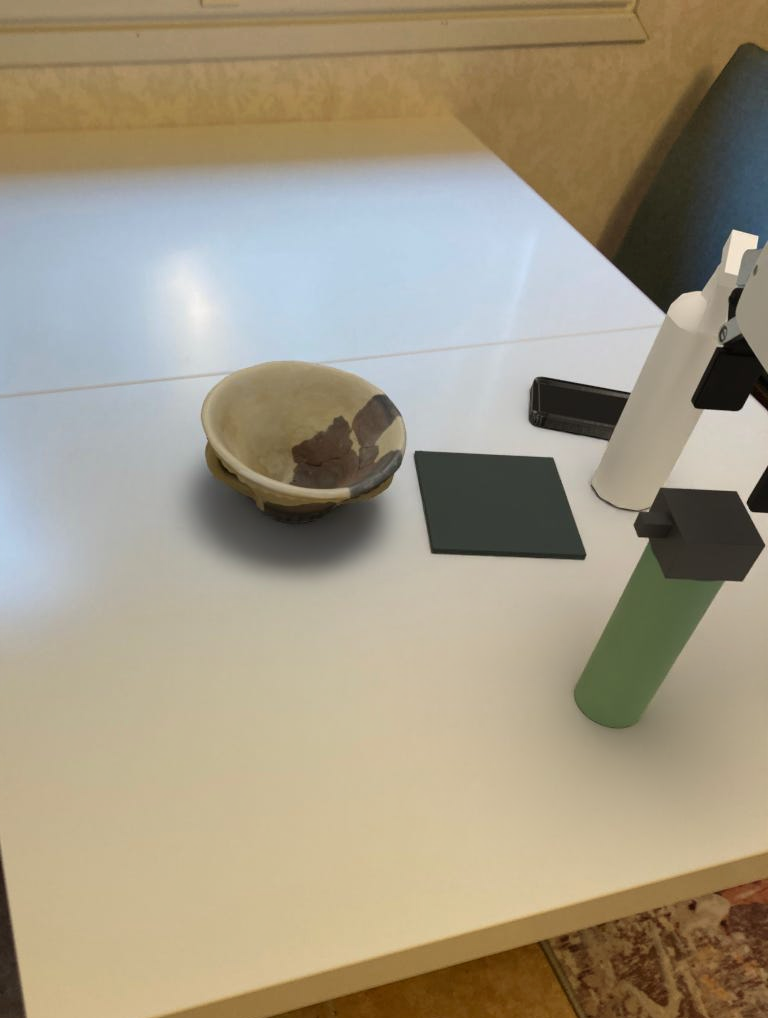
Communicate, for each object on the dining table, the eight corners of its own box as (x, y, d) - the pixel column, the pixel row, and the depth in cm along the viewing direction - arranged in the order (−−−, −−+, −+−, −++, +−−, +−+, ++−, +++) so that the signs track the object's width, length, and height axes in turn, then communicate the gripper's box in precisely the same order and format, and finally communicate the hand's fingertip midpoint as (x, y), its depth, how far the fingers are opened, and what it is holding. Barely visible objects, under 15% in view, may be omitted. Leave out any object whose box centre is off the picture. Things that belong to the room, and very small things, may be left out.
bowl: (180, 554, 80) (180, 465, 73) (219, 430, 92) (222, 344, 85) (383, 585, 79) (402, 500, 72) (396, 457, 91) (413, 372, 84)
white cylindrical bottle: (669, 461, 95) (788, 215, 76) (653, 532, 87) (781, 279, 68) (604, 441, 96) (705, 195, 77) (582, 509, 88) (689, 255, 70)
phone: (533, 374, 101) (672, 399, 100) (530, 383, 102) (668, 408, 101) (531, 415, 96) (678, 442, 95) (528, 425, 97) (674, 451, 95)
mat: (551, 461, 93) (553, 457, 92) (584, 559, 84) (587, 554, 83) (413, 455, 92) (414, 450, 91) (432, 553, 83) (433, 548, 82)
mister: (632, 674, 75) (738, 489, 61) (651, 729, 71) (768, 546, 57) (546, 671, 74) (632, 484, 60) (561, 726, 71) (656, 541, 56)
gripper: (1105, 248, 37) (865, 560, 50) (903, 90, 48) (750, 377, 61) (928, 233, 36) (731, 553, 49) (765, 77, 48) (640, 370, 60)
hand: (742, 455), depth 55 cm, fingers open, 9 cm apart
